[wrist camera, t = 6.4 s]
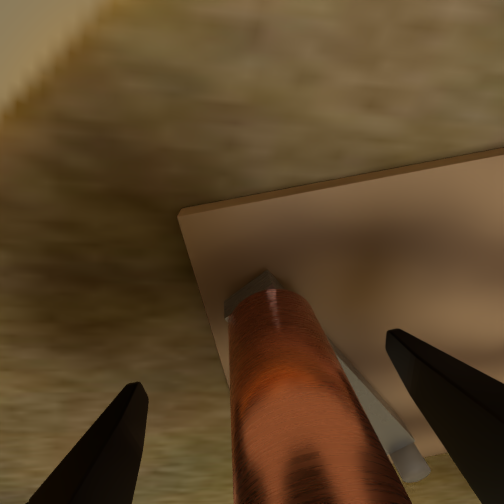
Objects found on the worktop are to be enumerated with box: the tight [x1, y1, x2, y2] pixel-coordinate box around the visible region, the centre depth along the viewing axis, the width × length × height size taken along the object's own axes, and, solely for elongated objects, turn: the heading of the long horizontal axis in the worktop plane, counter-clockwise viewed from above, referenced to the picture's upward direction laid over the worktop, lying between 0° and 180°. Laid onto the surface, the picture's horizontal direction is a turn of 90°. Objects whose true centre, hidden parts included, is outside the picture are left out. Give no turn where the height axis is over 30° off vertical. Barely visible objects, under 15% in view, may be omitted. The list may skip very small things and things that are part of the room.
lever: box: [224, 270, 415, 504], centre depth 10 cm, size 15×4×8 cm, turn 38°
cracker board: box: [177, 148, 504, 482], centre depth 14 cm, size 22×18×4 cm
